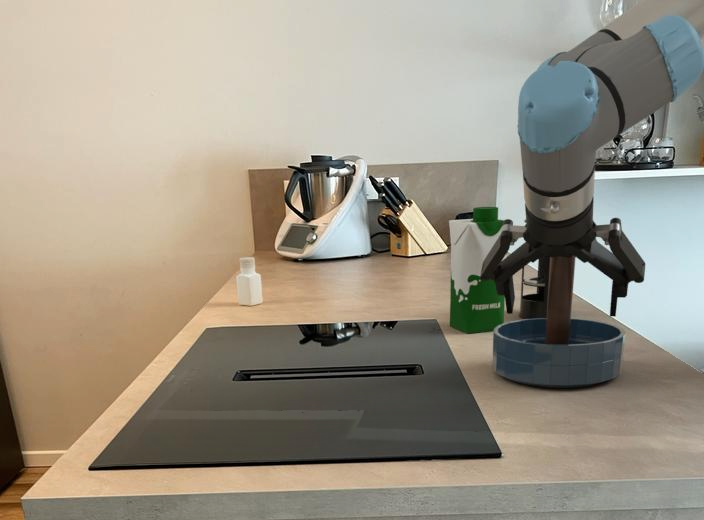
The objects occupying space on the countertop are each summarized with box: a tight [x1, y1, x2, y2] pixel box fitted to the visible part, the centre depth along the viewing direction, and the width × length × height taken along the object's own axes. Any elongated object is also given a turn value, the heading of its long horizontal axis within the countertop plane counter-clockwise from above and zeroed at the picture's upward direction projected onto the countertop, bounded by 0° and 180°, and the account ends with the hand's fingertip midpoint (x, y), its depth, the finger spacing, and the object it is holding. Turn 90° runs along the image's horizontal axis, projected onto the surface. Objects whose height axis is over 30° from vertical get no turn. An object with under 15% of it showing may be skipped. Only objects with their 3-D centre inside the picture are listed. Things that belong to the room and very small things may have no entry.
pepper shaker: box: [235, 256, 264, 307], centre depth 164 cm, size 4×4×10 cm
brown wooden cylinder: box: [545, 256, 577, 345], centre depth 105 cm, size 5×5×16 cm
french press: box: [518, 219, 550, 319], centre depth 140 cm, size 12×9×23 cm
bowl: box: [491, 317, 627, 389], centre depth 108 cm, size 17×17×6 cm
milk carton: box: [448, 206, 507, 334], centre depth 133 cm, size 9×9×20 cm
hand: (561, 306), depth 107 cm, fingers open, 13 cm apart
